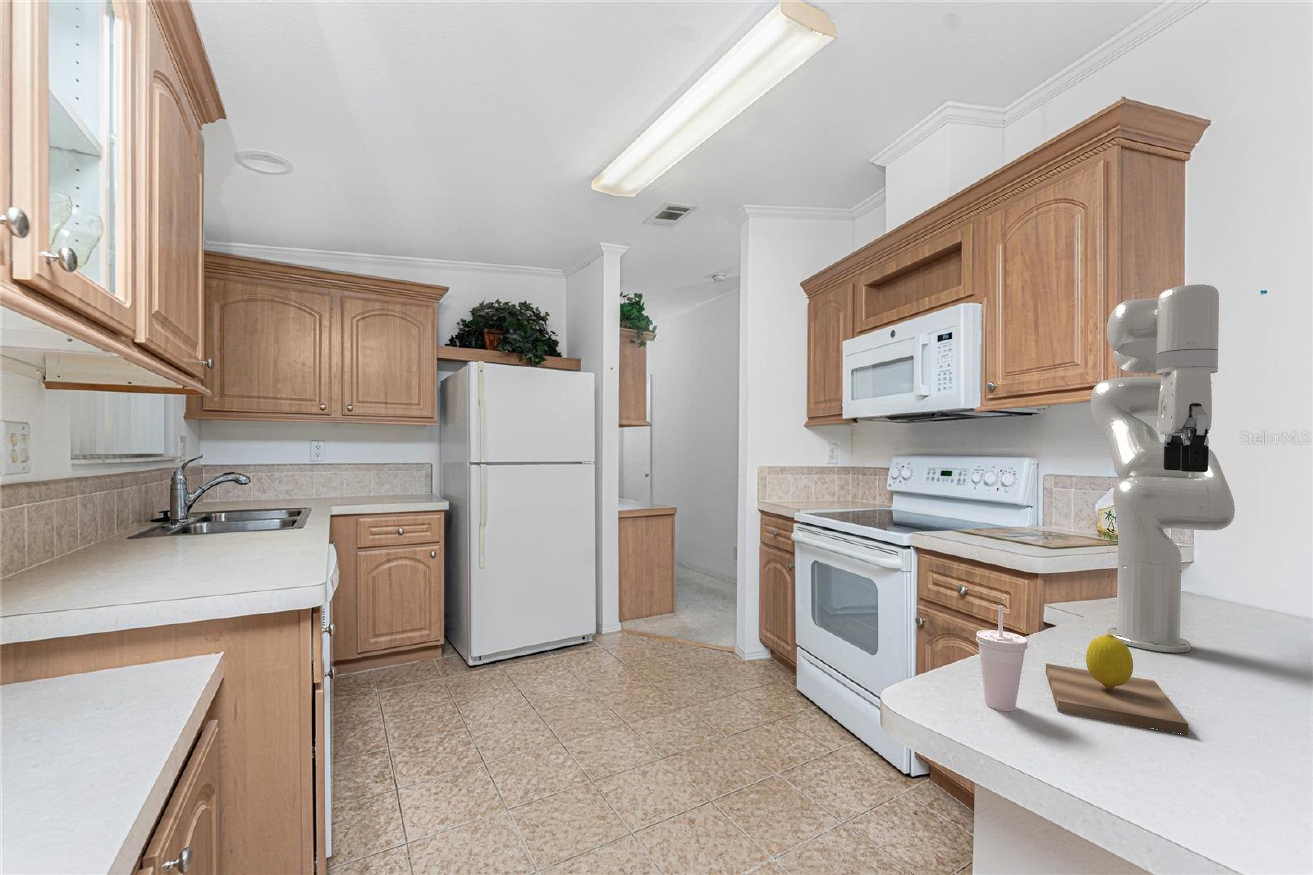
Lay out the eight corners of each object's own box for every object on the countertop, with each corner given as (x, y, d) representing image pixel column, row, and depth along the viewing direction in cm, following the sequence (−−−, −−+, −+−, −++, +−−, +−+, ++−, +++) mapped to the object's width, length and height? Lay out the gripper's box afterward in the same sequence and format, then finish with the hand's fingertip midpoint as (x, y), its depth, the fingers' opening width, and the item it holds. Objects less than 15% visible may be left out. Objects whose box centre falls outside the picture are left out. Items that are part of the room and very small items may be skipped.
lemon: (1140, 699, 87) (1142, 641, 87) (1096, 694, 88) (1097, 638, 88) (1120, 684, 92) (1121, 630, 92) (1078, 680, 93) (1079, 626, 93)
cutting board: (1045, 672, 100) (1045, 663, 100) (1154, 690, 94) (1154, 680, 94) (1057, 711, 85) (1057, 700, 85) (1188, 735, 79) (1188, 724, 79)
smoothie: (968, 705, 87) (970, 604, 87) (981, 692, 91) (983, 597, 91) (1020, 720, 82) (1022, 614, 82) (1031, 706, 87) (1033, 606, 87)
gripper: (1144, 371, 109) (1142, 469, 109) (1171, 357, 93) (1169, 471, 93) (1199, 370, 105) (1197, 470, 105) (1237, 355, 90) (1235, 473, 90)
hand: (1184, 471), depth 99 cm, fingers open, 9 cm apart
